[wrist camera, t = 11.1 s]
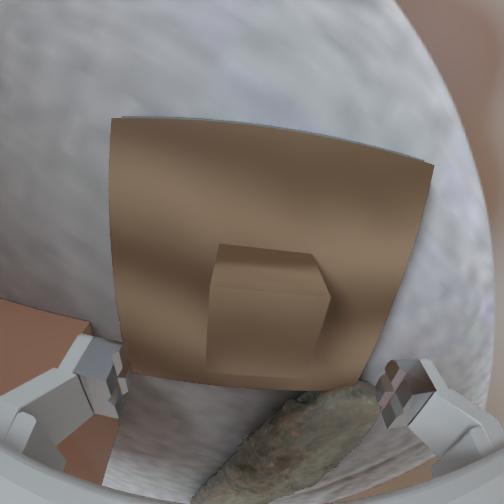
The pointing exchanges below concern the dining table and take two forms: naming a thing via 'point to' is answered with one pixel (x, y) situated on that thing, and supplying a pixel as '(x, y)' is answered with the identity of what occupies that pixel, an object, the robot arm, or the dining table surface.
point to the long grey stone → (294, 446)
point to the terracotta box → (42, 360)
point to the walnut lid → (256, 250)
